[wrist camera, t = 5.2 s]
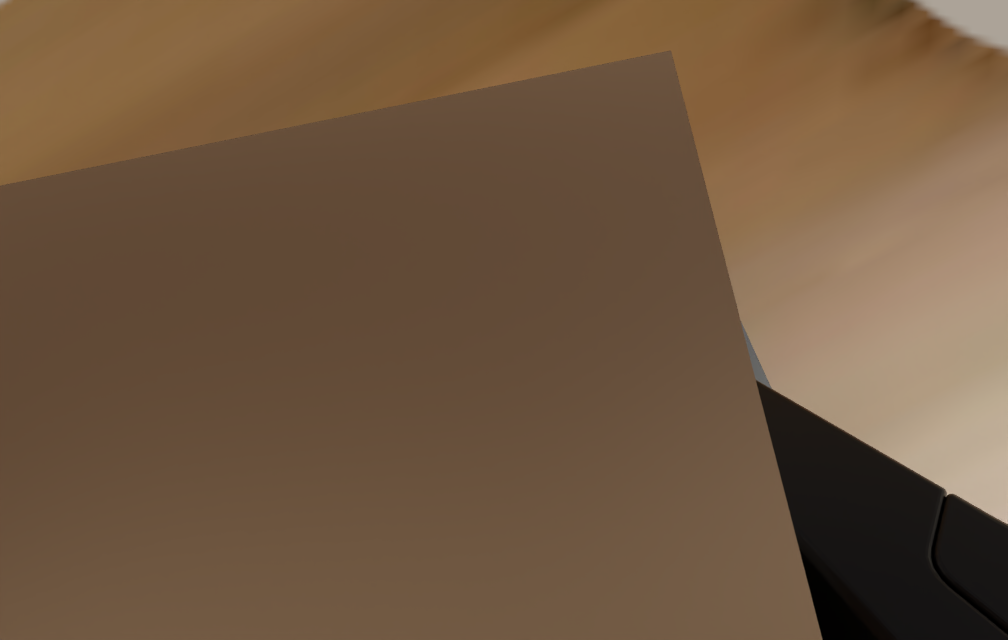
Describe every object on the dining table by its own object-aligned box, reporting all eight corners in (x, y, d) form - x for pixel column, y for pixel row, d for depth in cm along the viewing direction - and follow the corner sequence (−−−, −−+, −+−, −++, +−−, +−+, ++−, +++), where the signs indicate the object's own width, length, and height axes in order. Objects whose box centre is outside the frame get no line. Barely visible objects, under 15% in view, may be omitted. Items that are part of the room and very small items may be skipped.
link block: (675, 694, 15) (946, 1074, 4) (363, 751, 15) (-196, 1266, 4) (609, 384, 16) (678, 41, 5) (322, 440, 16) (-177, 213, 5)
